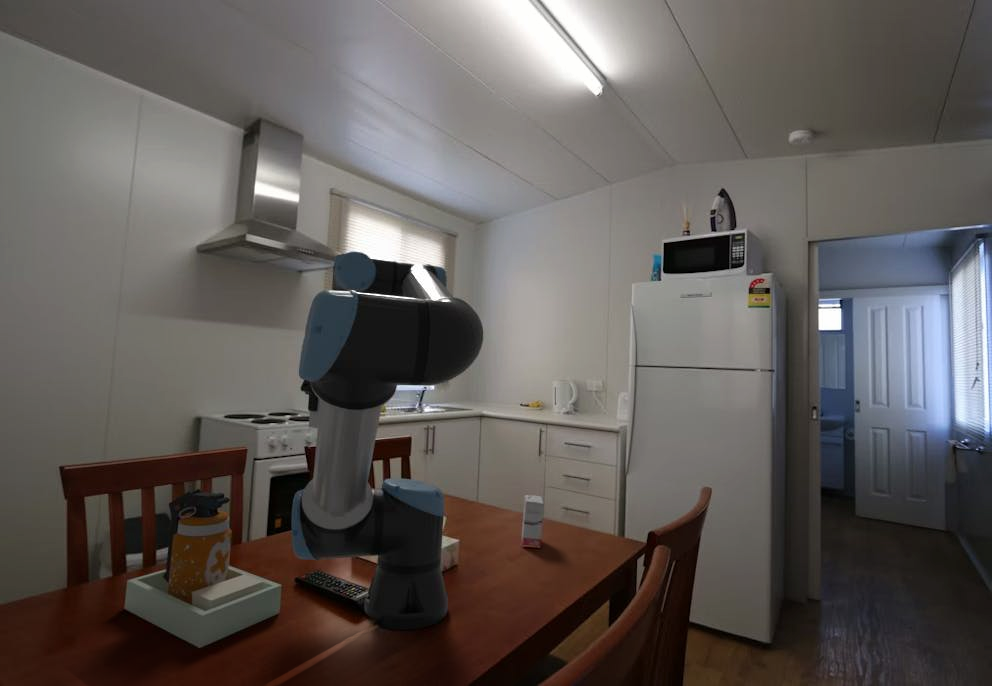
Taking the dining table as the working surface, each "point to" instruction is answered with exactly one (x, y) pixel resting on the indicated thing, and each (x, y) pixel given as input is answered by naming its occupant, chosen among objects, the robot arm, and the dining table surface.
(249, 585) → the white plastic bar
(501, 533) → the dining table surface
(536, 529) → the ink box
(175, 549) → the canister
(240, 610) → the crate
